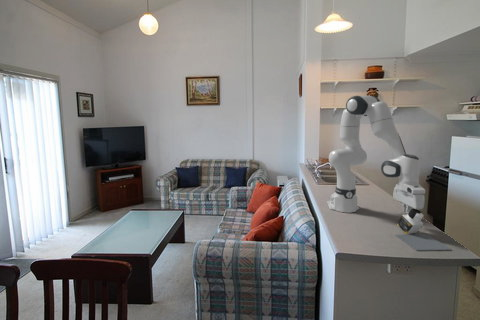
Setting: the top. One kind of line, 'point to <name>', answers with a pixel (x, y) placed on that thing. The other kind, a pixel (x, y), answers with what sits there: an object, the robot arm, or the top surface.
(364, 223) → the top surface
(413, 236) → the dark rubber mat
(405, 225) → the medicine bottle
